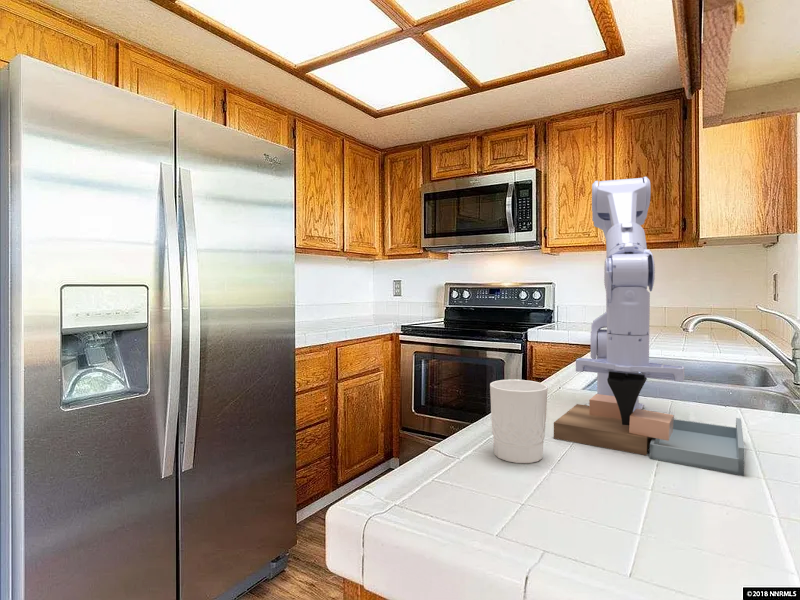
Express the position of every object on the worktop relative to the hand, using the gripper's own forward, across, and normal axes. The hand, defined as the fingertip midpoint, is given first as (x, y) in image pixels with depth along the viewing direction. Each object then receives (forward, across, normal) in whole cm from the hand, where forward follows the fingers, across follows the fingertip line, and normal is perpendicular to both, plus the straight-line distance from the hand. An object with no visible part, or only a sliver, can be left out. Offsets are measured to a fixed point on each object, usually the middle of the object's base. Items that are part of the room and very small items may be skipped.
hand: (626, 423), depth 70 cm
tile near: (+1, +3, 0) cm, 3 cm away
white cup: (+3, -12, -14) cm, 18 cm away
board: (+3, -3, +4) cm, 6 cm away
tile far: (+1, -4, +7) cm, 8 cm away
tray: (+3, +9, +4) cm, 10 cm away
